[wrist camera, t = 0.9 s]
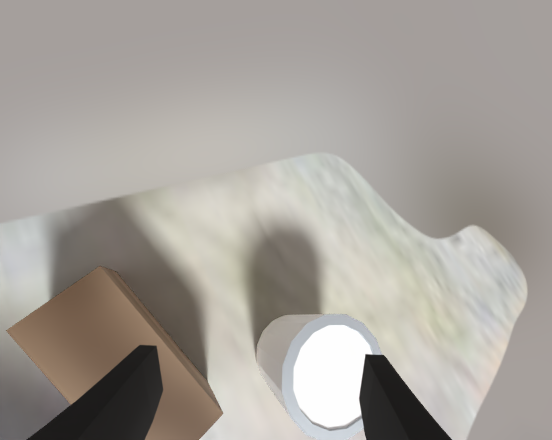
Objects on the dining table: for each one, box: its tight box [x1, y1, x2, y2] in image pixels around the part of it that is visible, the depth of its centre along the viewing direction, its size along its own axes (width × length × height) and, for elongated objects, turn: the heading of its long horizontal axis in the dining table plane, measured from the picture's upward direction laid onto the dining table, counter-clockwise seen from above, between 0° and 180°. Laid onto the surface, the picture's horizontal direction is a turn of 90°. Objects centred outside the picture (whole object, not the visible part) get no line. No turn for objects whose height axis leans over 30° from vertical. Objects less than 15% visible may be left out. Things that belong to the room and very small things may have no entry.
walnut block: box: [6, 266, 223, 440], centre depth 18 cm, size 4×10×6 cm, turn 41°
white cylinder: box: [256, 314, 382, 440], centre depth 21 cm, size 7×7×7 cm
